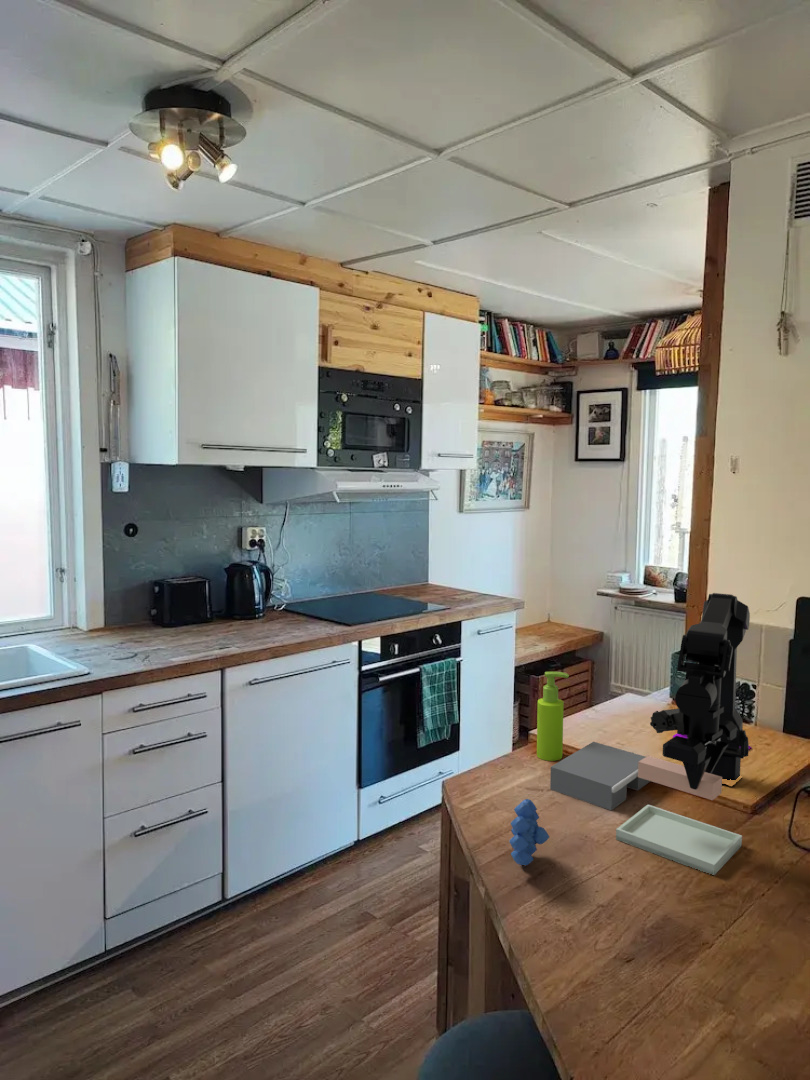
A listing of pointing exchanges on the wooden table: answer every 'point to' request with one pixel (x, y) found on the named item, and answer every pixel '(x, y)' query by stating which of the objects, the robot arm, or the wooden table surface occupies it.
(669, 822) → the tray
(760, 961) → the wooden table surface
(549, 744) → the soap dispenser
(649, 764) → the pink bar in dish
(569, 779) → the block
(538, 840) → the grapes
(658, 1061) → the wooden table surface
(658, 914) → the wooden table surface
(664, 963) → the wooden table surface
